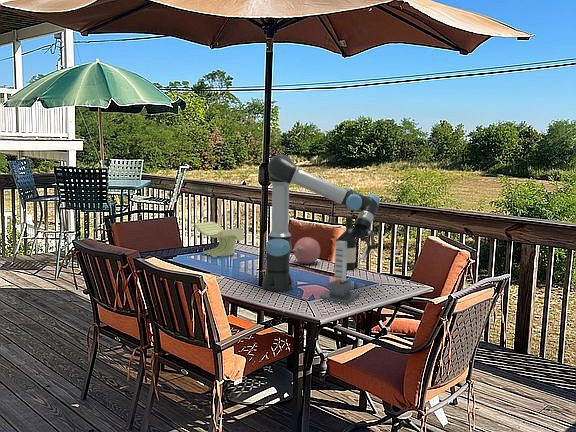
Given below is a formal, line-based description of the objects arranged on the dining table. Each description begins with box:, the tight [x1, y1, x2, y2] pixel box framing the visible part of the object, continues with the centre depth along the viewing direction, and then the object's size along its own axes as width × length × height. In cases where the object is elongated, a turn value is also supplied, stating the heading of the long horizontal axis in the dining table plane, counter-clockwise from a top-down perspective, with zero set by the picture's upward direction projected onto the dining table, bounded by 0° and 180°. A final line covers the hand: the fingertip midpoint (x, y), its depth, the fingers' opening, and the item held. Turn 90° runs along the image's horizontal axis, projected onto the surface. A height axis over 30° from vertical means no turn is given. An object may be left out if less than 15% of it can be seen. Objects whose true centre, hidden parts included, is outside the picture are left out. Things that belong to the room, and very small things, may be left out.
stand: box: [319, 279, 361, 305], centre depth 272 cm, size 14×14×9 cm
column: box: [334, 241, 347, 284], centre depth 270 cm, size 4×4×20 cm
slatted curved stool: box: [194, 221, 245, 258], centre depth 361 cm, size 30×16×18 cm, turn 40°
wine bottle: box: [345, 215, 357, 271], centre depth 327 cm, size 8×8×30 cm
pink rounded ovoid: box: [291, 236, 321, 265], centre depth 337 cm, size 15×20×15 cm
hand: (350, 257), depth 279 cm, fingers open, 13 cm apart
